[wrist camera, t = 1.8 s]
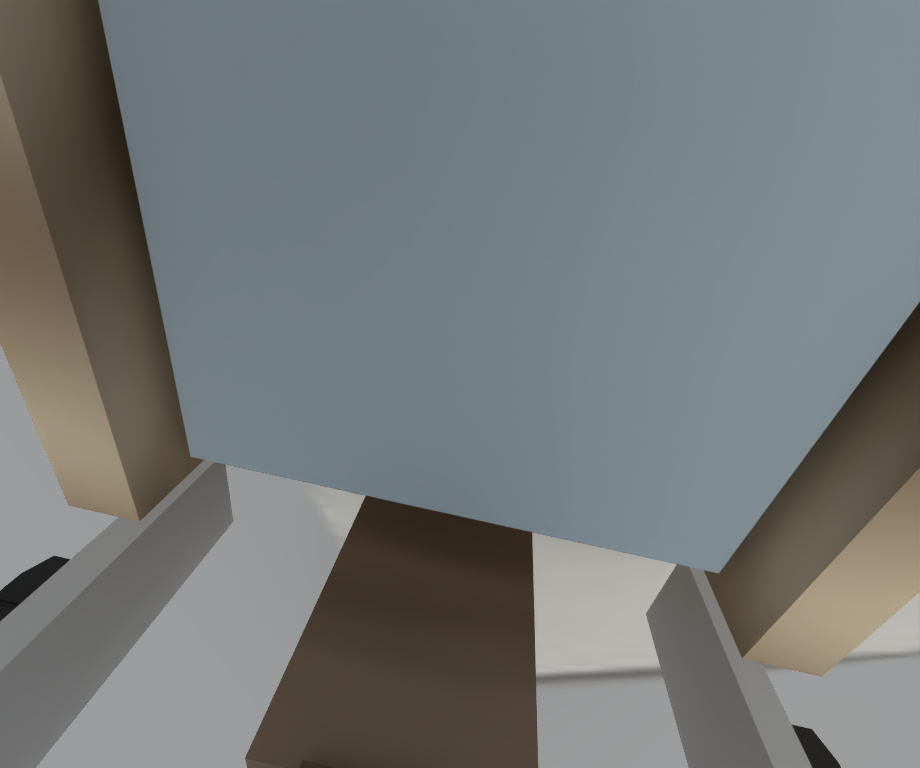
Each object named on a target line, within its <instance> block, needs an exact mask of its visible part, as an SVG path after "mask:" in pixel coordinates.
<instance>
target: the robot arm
mask: <svg viewBox="0 0 920 768" xmlns="http://www.w3.org/2000/svg"><path fill="white" fill-rule="evenodd" d="M232 522H233V517H232V509H231V502H230V495H229V488H228V482H227V473H226V466H225V464H221V463H217V462H212V461H207V460H204V461H203V462H202V463H200V464H199V465H198V466H197V467H196V468H195V469H194V470H193V471H192V472H191V473H190V474H189V475H188V476H187V477H186V478H185V479H184V480H183V481H182V482H181V483H180V484H178V485H177V486H176V487H175V488H174V489H173V490H172V491H171V492H170V493H169V494H168V495H167V496H166V497H165V498H164V499H163V500H162V501H161V502H160V503H159V504H157V505H156V506H155V507H154V508H153V509H152V510H151V511H150V512H149V513H148V514H147V515H146V516H145V517H144V518H143V519H142V520H141V521H135V520H131V519H126V518H122V517H118V518H117V519H116V520H115V521H114V522H113V523H111V524H110V525H109V526H108V527H107V528H106V529H105V530H103V531H102V532H101V533H100V534H99V535H98V536H97V537H96V538H94V539H93V540H92V541H91V542H90V543H89V544H88V545H86V546H85V547H84V548H83V549H82V550H81V551H80V552H79V553H77V554H76V555H75V556H74V557H73V558H72V559H71V560H70V559H66V558H61V557H57V556H53V557H51V558H49V559H47V560H45V561H43V562H42V563H40V564H38V565H36V566H34V567H33V568H31V569H29V570H27V571H25V572H23V573H21V574H20V575H19V576H18V577H16V578H15V579H14V580H13V581H11V582H10V583H9V584H8V585H7V586H5V587H4V588H3V589H2V590H1V591H0V768H36V766H37V765H38V764H39V763H40V761H41V760H42V759H43V758H44V756H45V755H46V754H47V753H48V752H49V750H50V749H51V748H52V746H53V745H54V744H55V743H56V742H57V740H58V739H59V738H60V737H61V735H62V734H63V733H64V732H65V730H66V729H67V728H68V726H69V725H70V724H71V723H72V722H73V720H74V719H75V718H76V716H77V715H78V714H79V713H80V711H81V710H82V709H83V708H84V707H85V705H86V704H87V703H88V702H89V700H90V699H91V698H92V697H93V695H94V694H95V693H96V692H97V690H98V689H99V688H100V687H101V685H102V684H103V683H104V682H105V680H106V679H107V678H108V677H109V675H110V674H111V673H112V672H113V670H114V669H115V668H116V667H117V666H118V664H119V663H120V662H121V660H122V659H123V658H124V657H125V656H126V654H127V653H128V652H129V650H130V649H131V648H132V647H133V646H134V644H135V643H136V642H137V641H138V639H139V638H140V637H141V636H142V634H143V633H144V632H145V631H146V629H147V628H148V627H149V626H150V624H151V623H152V621H154V619H155V618H156V617H157V616H158V614H159V613H160V612H161V611H162V609H163V608H164V607H165V606H166V604H167V603H168V602H169V601H170V599H171V598H172V597H173V596H174V594H175V593H176V592H177V591H178V589H179V588H180V587H181V586H182V584H183V583H184V582H185V581H186V579H187V578H188V577H189V576H190V574H191V573H192V572H193V571H194V569H195V568H196V567H197V566H198V564H199V563H200V562H201V561H202V559H203V558H204V557H205V556H206V554H207V553H208V552H209V551H210V549H211V548H212V547H213V546H214V545H215V543H216V542H217V541H218V539H219V538H220V537H221V536H222V535H223V533H224V532H225V531H226V530H227V528H228V527H229V526H230V524H231V523H232ZM646 616H647V620H648V623H649V627H650V630H651V634H652V637H653V641H654V645H655V648H656V652H657V655H658V659H659V663H660V666H661V670H662V673H663V677H664V681H665V684H666V687H667V691H668V695H669V698H670V702H671V705H672V709H673V713H674V716H675V720H676V723H677V727H678V731H679V734H680V738H681V741H682V745H683V749H684V752H685V756H686V760H687V763H688V766H689V768H841V767H840V765H839V763H838V762H837V760H836V759H835V758H834V757H833V755H832V754H831V753H830V752H829V750H828V749H827V748H826V746H825V745H824V744H823V743H822V741H821V740H820V739H819V738H818V736H817V735H816V734H815V733H814V731H813V730H812V729H809V728H804V727H799V726H795V725H791V722H790V721H789V718H788V716H787V714H786V712H785V710H784V708H783V706H782V704H781V702H780V700H779V698H778V696H777V694H776V692H775V689H774V687H773V685H772V683H771V681H770V679H769V677H768V675H767V673H766V671H765V669H764V667H763V664H762V663H760V662H755V661H751V660H746V659H742V657H741V655H740V652H739V650H738V648H737V646H736V643H735V641H734V639H733V636H732V634H731V632H730V630H729V627H728V625H727V623H726V620H725V618H724V616H723V614H722V611H721V609H720V607H719V604H718V602H717V600H716V598H715V595H714V593H713V591H712V588H711V586H710V584H709V582H708V579H707V577H706V575H705V572H704V570H701V569H697V568H692V567H688V566H683V565H678V564H677V565H676V567H675V569H674V570H673V572H672V573H671V575H670V577H669V578H668V580H667V581H666V583H665V584H664V586H663V588H662V589H661V591H660V592H659V594H658V596H657V597H656V599H655V600H654V602H653V603H652V605H651V607H650V608H649V610H648V611H647V613H646Z"/></svg>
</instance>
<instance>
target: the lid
mask: <svg viewBox="0 0 920 768" xmlns="http://www.w3.org/2000/svg"><path fill="white" fill-rule="evenodd" d="M98 2H99V7H100V12H101V17H102V22H103V27H104V32H105V37H106V42H107V47H108V52H109V57H110V62H111V67H112V72H113V76H114V81H115V86H116V91H117V96H118V101H119V106H120V111H121V116H122V121H123V126H124V131H125V136H126V141H127V146H128V151H129V155H130V160H131V165H132V170H133V175H134V180H135V185H136V190H137V195H138V200H139V205H140V210H141V215H142V220H143V225H144V230H145V234H146V239H147V244H148V249H149V254H150V259H151V264H152V269H153V274H154V279H155V284H156V289H157V294H158V299H159V304H160V308H161V313H162V318H163V323H164V328H165V333H166V338H167V343H168V348H169V353H170V358H171V363H172V368H173V373H174V378H175V383H176V387H177V392H178V397H179V402H180V407H181V412H182V417H183V422H184V427H185V432H186V437H187V442H188V447H189V452H190V457H194V458H198V459H203V460H207V461H212V462H217V463H221V464H226V465H230V466H235V467H239V468H244V469H248V470H253V471H257V472H262V473H266V474H271V475H276V476H280V477H284V478H289V479H294V480H298V481H303V482H307V483H312V484H316V485H321V486H325V487H330V488H334V489H339V490H343V491H348V492H352V493H357V494H361V495H366V496H371V497H375V498H380V499H384V500H389V501H393V502H398V503H402V504H407V505H411V506H416V507H420V508H425V509H429V510H434V511H438V512H443V513H448V514H452V515H457V516H461V517H466V518H470V519H475V520H479V521H484V522H488V523H493V524H497V525H502V526H506V527H511V528H515V529H520V530H524V531H529V532H534V533H538V534H543V535H547V536H552V537H556V538H561V539H565V540H570V541H574V542H579V543H583V544H588V545H592V546H597V547H601V548H606V549H611V550H615V551H620V552H624V553H629V554H633V555H638V556H642V557H647V558H651V559H656V560H660V561H665V562H669V563H674V564H678V565H683V566H688V567H692V568H697V569H701V570H706V571H710V572H715V573H720V571H721V570H722V568H723V567H724V566H725V564H726V563H727V562H728V560H729V559H730V558H731V556H732V555H733V554H734V552H735V551H736V550H737V548H738V547H739V545H740V544H741V543H742V541H743V540H744V539H745V537H746V536H747V535H748V533H749V532H750V531H751V529H752V528H753V527H754V525H755V524H756V522H757V521H758V520H759V518H760V517H761V516H762V514H763V513H764V512H765V510H766V509H767V508H768V506H769V505H770V504H771V502H772V501H773V499H774V498H775V497H776V495H777V494H778V493H779V491H780V490H781V489H782V487H783V486H784V485H785V483H786V482H787V481H788V479H789V478H790V476H791V475H792V474H793V472H794V471H795V470H796V468H797V467H798V466H799V464H800V463H801V462H802V460H803V459H804V458H805V456H806V455H807V453H808V452H809V451H810V449H811V448H812V447H813V445H814V444H815V443H816V441H817V440H818V439H819V437H820V436H821V435H822V433H823V432H824V430H825V429H826V428H827V426H828V425H829V424H830V422H831V421H832V420H833V418H834V417H835V416H836V414H837V413H838V412H839V410H840V409H841V407H842V406H843V405H844V403H845V402H846V401H847V399H848V398H849V397H850V395H851V394H852V393H853V391H854V390H855V389H856V387H857V386H858V384H859V383H860V382H861V380H862V379H863V378H864V376H865V375H866V374H867V372H868V371H869V370H870V368H871V367H872V366H873V364H874V363H875V361H876V360H877V359H878V357H879V356H880V355H881V353H882V352H883V351H884V349H885V348H886V347H887V345H888V344H889V343H890V341H891V340H892V338H893V337H894V336H895V334H896V333H897V332H898V330H899V329H900V328H901V326H902V325H903V324H904V322H905V321H906V320H907V318H908V317H909V315H910V314H911V313H912V311H913V310H914V309H915V307H916V306H917V305H918V303H919V302H920V0H98Z"/></svg>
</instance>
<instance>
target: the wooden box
mask: <svg viewBox="0 0 920 768" xmlns="http://www.w3.org/2000/svg"><path fill="white" fill-rule="evenodd" d="M0 344H1V346H2V348H3V351H4V353H5V355H6V358H7V360H8V363H9V365H10V367H11V370H12V372H13V374H14V377H15V379H16V382H17V384H18V386H19V389H20V391H21V393H22V396H23V398H24V400H25V403H26V405H27V408H28V410H29V412H30V415H31V417H32V420H33V422H34V424H35V427H36V429H37V432H38V434H39V436H40V439H41V441H42V443H43V446H44V448H45V450H46V453H47V455H48V457H49V460H50V462H51V465H52V467H53V470H54V471H55V474H56V476H57V479H58V481H59V484H60V486H61V489H62V491H63V493H64V496H65V498H66V500H67V503H68V505H69V506H74V507H78V508H83V509H87V510H91V511H96V512H100V513H105V514H109V515H113V516H118V517H122V518H126V519H131V520H135V521H141V520H142V519H143V518H144V517H145V516H146V515H147V514H148V513H149V512H150V511H151V510H152V509H153V508H154V507H155V506H156V505H157V504H159V503H160V502H161V501H162V500H163V499H164V498H165V497H166V496H167V495H168V494H169V493H170V492H171V491H172V490H173V489H174V488H175V487H176V486H177V485H178V484H180V483H181V482H182V481H183V480H184V479H185V478H186V477H187V476H188V475H189V474H190V473H191V472H192V471H193V470H194V469H195V468H196V467H197V466H198V465H199V464H200V463H202V462H203V461H204V460H203V459H198V458H194V457H190V452H189V447H188V442H187V437H186V432H185V427H184V422H183V417H182V412H181V407H180V402H179V397H178V392H177V387H176V383H175V378H174V373H173V368H172V363H171V358H170V353H169V348H168V343H167V338H166V333H165V328H164V323H163V318H162V313H161V308H160V304H159V299H158V294H157V289H156V284H155V279H154V274H153V269H152V264H151V259H150V254H149V249H148V244H147V239H146V234H145V230H144V225H143V220H142V215H141V210H140V205H139V200H138V195H137V190H136V185H135V180H134V175H133V170H132V165H131V160H130V155H129V151H128V146H127V141H126V136H125V131H124V126H123V121H122V116H121V111H120V106H119V101H118V96H117V91H116V86H115V81H114V76H113V72H112V67H111V62H110V57H109V52H108V47H107V42H106V37H105V32H104V27H103V22H102V17H101V12H100V7H99V2H98V0H0ZM704 572H705V575H706V577H707V579H708V582H709V584H710V586H711V588H712V591H713V593H714V595H715V598H716V600H717V602H718V604H719V607H720V609H721V611H722V614H723V616H724V618H725V620H726V623H727V625H728V627H729V630H730V632H731V634H732V636H733V639H734V641H735V643H736V646H737V648H738V650H739V652H740V655H741V657H742V659H746V660H751V661H755V662H760V663H764V664H768V665H773V666H777V667H782V668H786V669H790V670H795V671H799V672H804V673H808V674H813V675H817V676H821V677H822V676H823V675H824V674H826V673H827V672H828V671H829V670H830V669H831V668H833V667H834V666H835V665H836V664H837V663H838V662H839V661H841V660H842V659H843V658H844V657H845V656H846V655H848V654H849V653H850V652H851V651H852V650H853V649H854V648H856V647H857V646H858V645H859V644H860V643H861V642H863V641H864V640H865V639H866V638H867V637H868V636H869V635H871V634H872V633H873V632H874V631H875V630H876V629H878V628H879V627H880V626H881V625H882V624H883V623H884V622H886V621H887V620H888V619H889V618H890V617H891V616H893V615H894V614H895V613H896V612H897V611H898V610H900V609H901V608H902V607H903V606H904V605H905V604H906V603H908V602H909V601H910V600H911V599H912V598H913V597H915V596H916V595H917V594H918V593H919V592H920V302H919V303H918V305H917V306H916V307H915V309H914V310H913V311H912V313H911V314H910V315H909V317H908V318H907V320H906V321H905V322H904V324H903V325H902V326H901V328H900V329H899V330H898V332H897V333H896V334H895V336H894V337H893V338H892V340H891V341H890V343H889V344H888V345H887V347H886V348H885V349H884V351H883V352H882V353H881V355H880V356H879V357H878V359H877V360H876V361H875V363H874V364H873V366H872V367H871V368H870V370H869V371H868V372H867V374H866V375H865V376H864V378H863V379H862V380H861V382H860V383H859V384H858V386H857V387H856V389H855V390H854V391H853V393H852V394H851V395H850V397H849V398H848V399H847V401H846V402H845V403H844V405H843V406H842V407H841V409H840V410H839V412H838V413H837V414H836V416H835V417H834V418H833V420H832V421H831V422H830V424H829V425H828V426H827V428H826V429H825V430H824V432H823V433H822V435H821V436H820V437H819V439H818V440H817V441H816V443H815V444H814V445H813V447H812V448H811V449H810V451H809V452H808V453H807V455H806V456H805V458H804V459H803V460H802V462H801V463H800V464H799V466H798V467H797V468H796V470H795V471H794V472H793V474H792V475H791V476H790V478H789V479H788V481H787V482H786V483H785V485H784V486H783V487H782V489H781V490H780V491H779V493H778V494H777V495H776V497H775V498H774V499H773V501H772V502H771V504H770V505H769V506H768V508H767V509H766V510H765V512H764V513H763V514H762V516H761V517H760V518H759V520H758V521H757V522H756V524H755V525H754V527H753V528H752V529H751V531H750V532H749V533H748V535H747V536H746V537H745V539H744V540H743V541H742V543H741V544H740V545H739V547H738V548H737V550H736V551H735V552H734V554H733V555H732V556H731V558H730V559H729V560H728V562H727V563H726V564H725V566H724V567H723V568H722V570H721V571H720V573H715V572H710V571H706V570H704Z"/></svg>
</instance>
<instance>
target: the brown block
mask: <svg viewBox="0 0 920 768" xmlns="http://www.w3.org/2000/svg"><path fill="white" fill-rule="evenodd" d="M245 759H246V764H247V768H538V745H537V706H536V667H535V627H534V588H533V549H532V532H529V531H524V530H520V529H515V528H511V527H506V526H502V525H497V524H493V523H488V522H484V521H479V520H475V519H470V518H466V517H461V516H457V515H452V514H448V513H443V512H438V511H434V510H429V509H425V508H420V507H416V506H411V505H407V504H402V503H398V502H393V501H389V500H384V499H380V498H375V497H371V496H366V497H365V499H364V501H363V503H362V505H361V508H360V510H359V512H358V514H357V516H356V518H355V521H354V523H353V525H352V527H351V529H350V531H349V534H348V536H347V538H346V540H345V542H344V544H343V547H342V549H341V551H340V553H339V555H338V558H337V560H336V562H335V564H334V566H333V568H332V571H331V573H330V575H329V577H328V579H327V581H326V584H325V586H324V588H323V590H322V592H321V595H320V597H319V599H318V601H317V603H316V605H315V607H314V610H313V612H312V614H311V616H310V618H309V621H308V623H307V625H306V627H305V629H304V631H303V634H302V636H301V638H300V640H299V642H298V645H297V647H296V649H295V651H294V653H293V656H292V658H291V660H290V662H289V664H288V666H287V669H286V670H285V673H284V675H283V677H282V679H281V682H280V683H279V686H278V688H277V690H276V692H275V694H274V697H273V699H272V701H271V703H270V705H269V707H268V710H267V712H266V714H265V716H264V718H263V721H262V723H261V725H260V727H259V729H258V731H257V733H256V736H255V738H254V740H253V742H252V744H251V746H250V749H249V751H248V753H247V755H246V758H245Z"/></svg>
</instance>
